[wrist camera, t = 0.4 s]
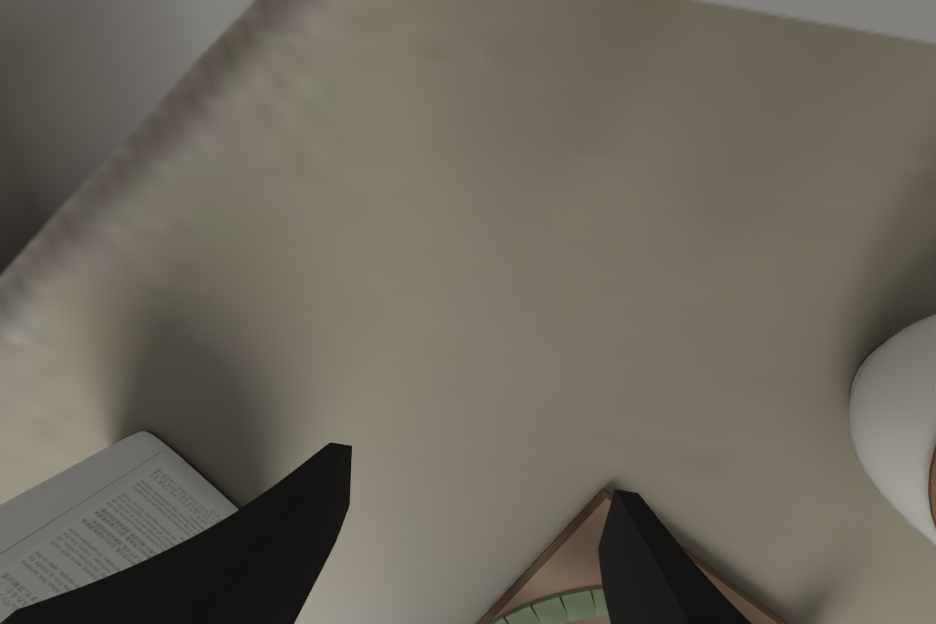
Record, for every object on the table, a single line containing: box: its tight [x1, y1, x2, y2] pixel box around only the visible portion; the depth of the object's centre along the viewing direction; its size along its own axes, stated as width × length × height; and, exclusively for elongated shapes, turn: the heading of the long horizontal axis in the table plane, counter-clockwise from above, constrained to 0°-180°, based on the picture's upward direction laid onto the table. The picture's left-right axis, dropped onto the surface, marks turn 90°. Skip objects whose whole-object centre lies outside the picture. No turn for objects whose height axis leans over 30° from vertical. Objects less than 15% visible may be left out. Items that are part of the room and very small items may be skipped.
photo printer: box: [0, 431, 238, 623], centre depth 19 cm, size 10×4×12 cm, turn 46°
